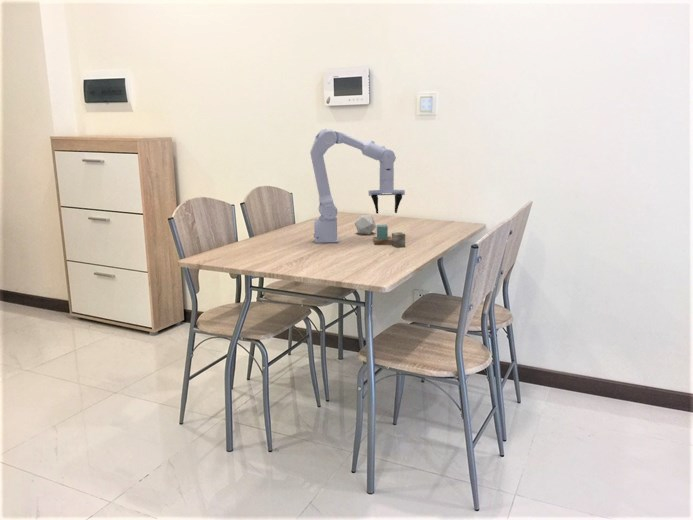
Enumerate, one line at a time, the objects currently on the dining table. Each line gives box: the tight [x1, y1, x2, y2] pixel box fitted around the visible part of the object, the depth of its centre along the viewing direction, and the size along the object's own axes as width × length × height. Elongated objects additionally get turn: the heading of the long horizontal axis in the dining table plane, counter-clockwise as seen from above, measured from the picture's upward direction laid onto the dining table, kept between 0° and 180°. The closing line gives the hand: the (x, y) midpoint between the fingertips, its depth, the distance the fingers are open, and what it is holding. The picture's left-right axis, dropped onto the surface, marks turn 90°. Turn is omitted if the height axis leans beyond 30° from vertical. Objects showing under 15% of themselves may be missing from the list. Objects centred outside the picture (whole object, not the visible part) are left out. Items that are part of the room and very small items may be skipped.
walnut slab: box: [372, 236, 392, 246], centre depth 231 cm, size 7×7×2 cm
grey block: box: [391, 231, 406, 248], centre depth 225 cm, size 4×4×5 cm
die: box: [354, 214, 377, 236], centre depth 249 cm, size 8×9×10 cm
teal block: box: [376, 224, 389, 239], centre depth 230 cm, size 4×4×5 cm
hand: (386, 212), depth 238 cm, fingers open, 7 cm apart
